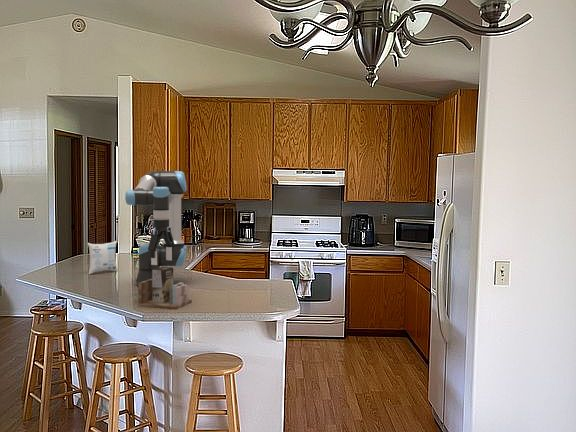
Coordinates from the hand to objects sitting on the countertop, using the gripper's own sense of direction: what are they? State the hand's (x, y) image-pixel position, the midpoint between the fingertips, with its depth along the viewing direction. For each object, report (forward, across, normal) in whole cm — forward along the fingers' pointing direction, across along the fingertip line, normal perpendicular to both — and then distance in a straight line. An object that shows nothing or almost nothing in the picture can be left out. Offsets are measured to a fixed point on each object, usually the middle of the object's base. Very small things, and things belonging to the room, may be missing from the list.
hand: (161, 262), depth 267 cm
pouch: (+22, -58, -78) cm, 100 cm away
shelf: (+20, 0, +2) cm, 20 cm away
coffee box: (+19, -1, 0) cm, 19 cm away
